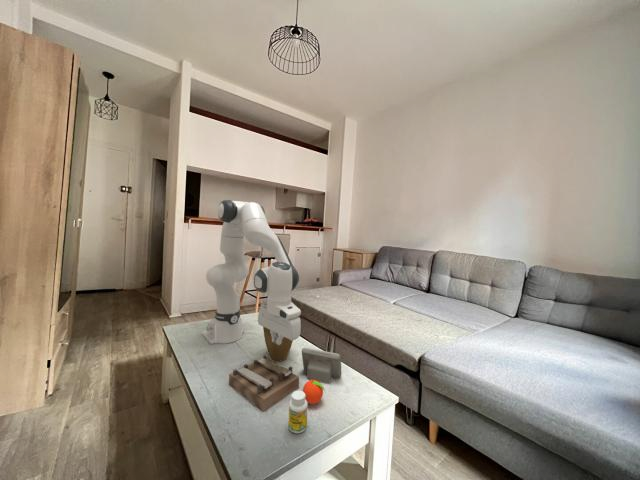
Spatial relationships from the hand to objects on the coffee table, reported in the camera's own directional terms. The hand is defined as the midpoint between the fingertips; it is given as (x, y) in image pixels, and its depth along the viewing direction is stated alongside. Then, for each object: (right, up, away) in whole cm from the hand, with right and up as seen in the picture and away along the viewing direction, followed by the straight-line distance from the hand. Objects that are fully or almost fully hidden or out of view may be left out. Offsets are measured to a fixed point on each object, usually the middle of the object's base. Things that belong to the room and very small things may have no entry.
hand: (276, 342), depth 91 cm
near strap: (-7, -10, -5) cm, 14 cm away
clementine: (+14, -16, -9) cm, 23 cm away
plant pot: (-2, -15, +18) cm, 24 cm away
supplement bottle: (+10, -17, -19) cm, 27 cm away
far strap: (-2, -10, +2) cm, 10 cm away
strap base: (-4, -15, -2) cm, 16 cm away
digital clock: (+16, -16, +6) cm, 24 cm away
